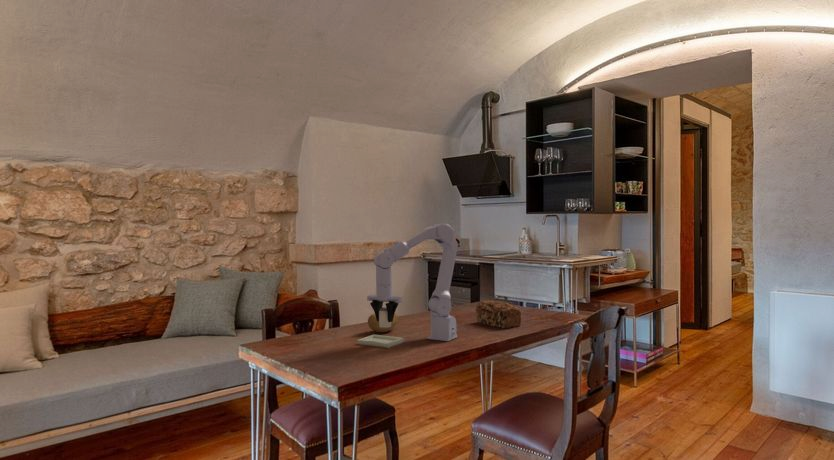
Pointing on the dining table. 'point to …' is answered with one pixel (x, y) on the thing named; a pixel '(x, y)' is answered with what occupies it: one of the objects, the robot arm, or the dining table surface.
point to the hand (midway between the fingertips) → (384, 321)
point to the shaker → (383, 318)
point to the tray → (380, 341)
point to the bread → (498, 314)
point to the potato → (375, 324)
